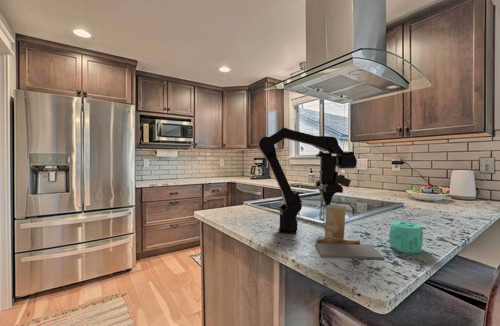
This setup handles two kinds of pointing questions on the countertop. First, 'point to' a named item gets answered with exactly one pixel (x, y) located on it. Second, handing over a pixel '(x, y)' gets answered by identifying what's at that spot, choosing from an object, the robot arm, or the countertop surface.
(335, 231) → the skincare box
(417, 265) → the countertop surface
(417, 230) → the decorative dice
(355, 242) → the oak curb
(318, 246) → the rubber mat
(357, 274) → the countertop surface
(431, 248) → the countertop surface
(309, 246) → the countertop surface
